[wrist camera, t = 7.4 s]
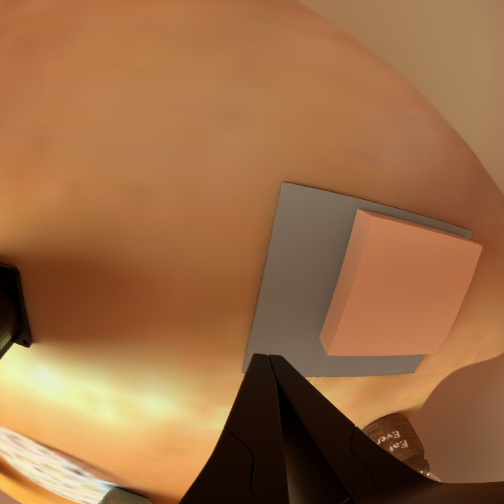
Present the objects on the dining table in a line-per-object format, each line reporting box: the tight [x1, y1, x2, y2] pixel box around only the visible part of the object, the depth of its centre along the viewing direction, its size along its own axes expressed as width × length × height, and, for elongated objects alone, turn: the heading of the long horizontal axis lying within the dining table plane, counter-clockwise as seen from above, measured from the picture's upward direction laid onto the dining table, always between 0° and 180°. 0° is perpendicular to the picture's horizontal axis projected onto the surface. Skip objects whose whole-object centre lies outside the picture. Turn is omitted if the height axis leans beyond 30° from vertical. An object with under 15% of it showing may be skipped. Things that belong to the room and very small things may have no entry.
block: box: [319, 209, 483, 356], centre depth 16 cm, size 8×2×9 cm
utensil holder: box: [362, 414, 439, 482], centre depth 17 cm, size 6×6×12 cm
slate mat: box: [242, 182, 473, 377], centre depth 17 cm, size 12×14×1 cm
